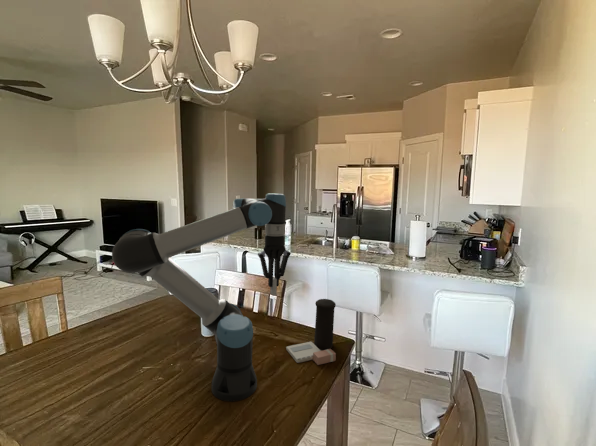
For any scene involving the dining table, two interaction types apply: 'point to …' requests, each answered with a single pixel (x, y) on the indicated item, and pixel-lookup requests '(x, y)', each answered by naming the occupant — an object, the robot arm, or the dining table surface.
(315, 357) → the pink banded block
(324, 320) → the container
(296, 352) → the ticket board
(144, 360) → the dining table surface
